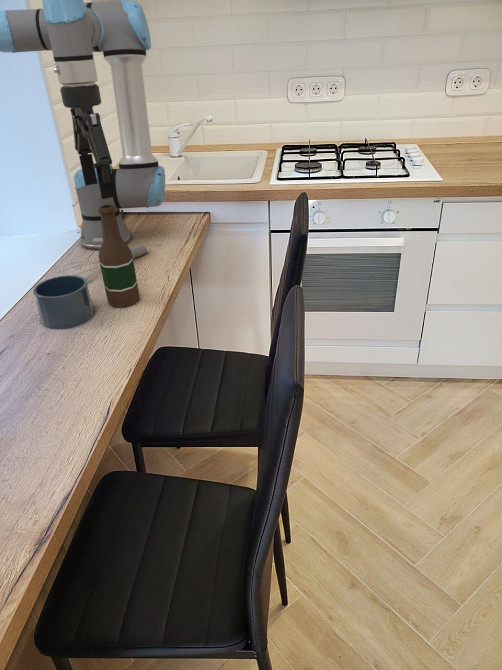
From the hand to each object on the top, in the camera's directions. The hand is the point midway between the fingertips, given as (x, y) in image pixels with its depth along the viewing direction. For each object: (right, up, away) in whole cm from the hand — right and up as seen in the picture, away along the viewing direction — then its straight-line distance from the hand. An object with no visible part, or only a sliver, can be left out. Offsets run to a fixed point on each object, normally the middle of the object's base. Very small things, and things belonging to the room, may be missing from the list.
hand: (99, 190), depth 116 cm
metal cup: (-10, -27, +9) cm, 31 cm away
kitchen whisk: (-7, -14, +31) cm, 35 cm away
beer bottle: (+2, -24, +15) cm, 28 cm away
